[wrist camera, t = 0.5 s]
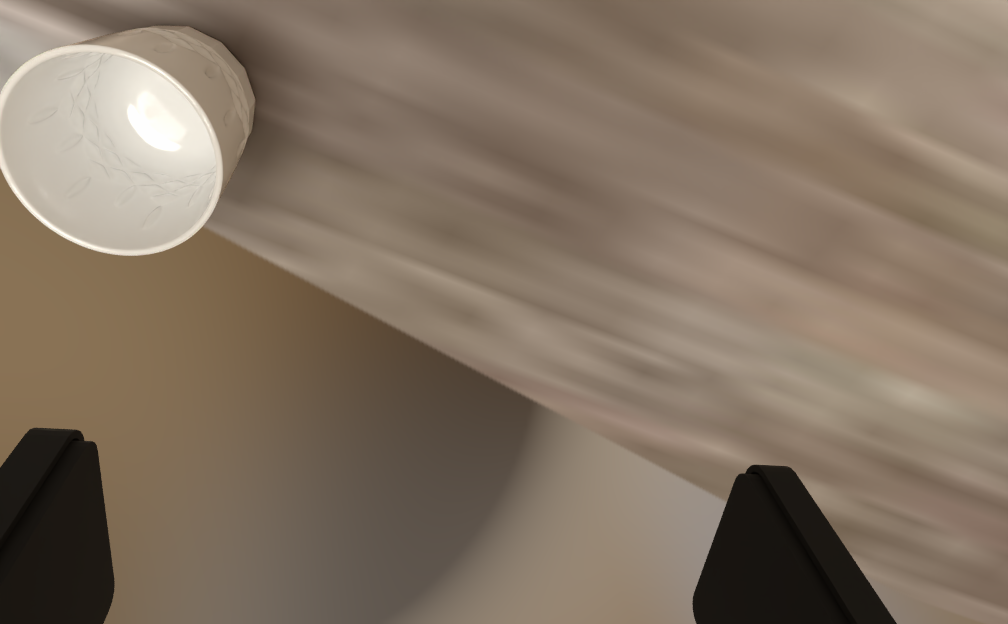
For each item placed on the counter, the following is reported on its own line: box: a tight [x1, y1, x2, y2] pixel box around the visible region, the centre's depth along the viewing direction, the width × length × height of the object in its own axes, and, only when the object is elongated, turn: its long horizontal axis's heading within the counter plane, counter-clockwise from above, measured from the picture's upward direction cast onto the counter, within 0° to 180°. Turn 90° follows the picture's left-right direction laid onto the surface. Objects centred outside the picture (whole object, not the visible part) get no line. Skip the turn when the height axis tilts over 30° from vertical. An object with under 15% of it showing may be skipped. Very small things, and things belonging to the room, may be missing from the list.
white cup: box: [0, 25, 256, 256], centre depth 32 cm, size 8×8×10 cm
